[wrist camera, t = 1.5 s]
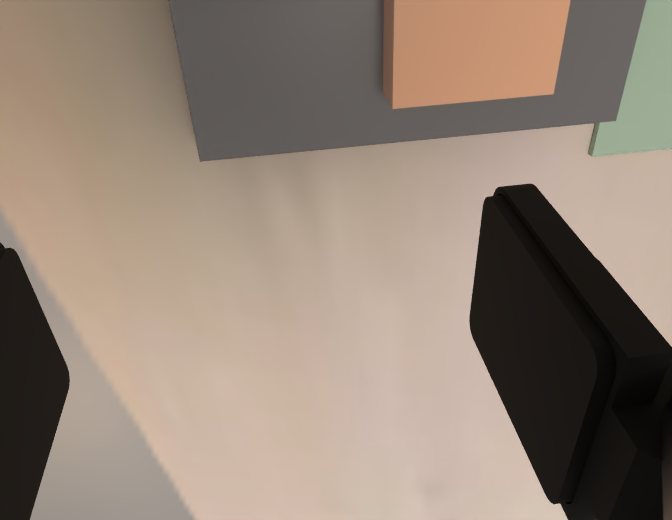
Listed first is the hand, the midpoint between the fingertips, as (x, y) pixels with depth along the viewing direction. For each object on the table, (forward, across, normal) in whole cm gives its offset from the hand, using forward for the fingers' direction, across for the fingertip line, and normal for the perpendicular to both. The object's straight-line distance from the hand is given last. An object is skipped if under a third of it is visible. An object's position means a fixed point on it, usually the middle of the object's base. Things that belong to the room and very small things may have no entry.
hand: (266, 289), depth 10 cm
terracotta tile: (+17, -9, 0) cm, 20 cm away
